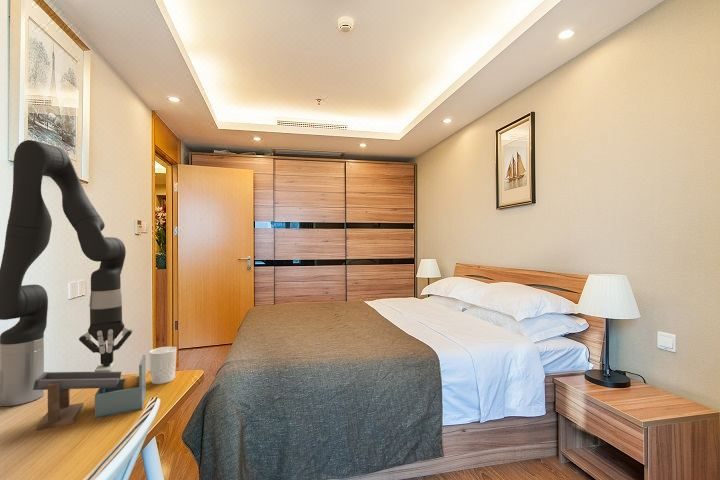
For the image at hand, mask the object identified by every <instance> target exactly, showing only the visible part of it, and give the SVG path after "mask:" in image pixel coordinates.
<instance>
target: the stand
mask: <svg viewBox="0 0 720 480" xmlns="http://www.w3.org/2000/svg"><path fill="white" fill-rule="evenodd" d="M70 390H71V389H60V383H54V384H49V385H48V390H47V412H46V414H44V416H42V418H41V419H40V421H38V423H37V424H36V431H40V430H44V429H45V430H46V429H51V428H56V427H60V426H65V425H70V424H74V422H76V420H77V418H78V417H79V415H80V413H81V412H82V410H83V409H84V407H85V402H78V403H72V404H71V403H70V400H71V399H70V397H71V395H70Z"/></svg>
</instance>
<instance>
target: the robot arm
mask: <svg viewBox="0 0 720 480" xmlns="http://www.w3.org/2000/svg"><path fill="white" fill-rule="evenodd" d="M12 165H13V167H12V169H13V170H12V171H13V172H12V175H13V176H12V193H11V194H12V195H11V199H10V200H11V202H10V209H9V210H10V211H9V216H8V220H7V225H6V232H5V240H4V247H3V253H2V259H1V263H0V320H1V321H7V320H15V319H19V320H18V322H17V323H15V325H13V326H11V327H10V328H8V329H7V330H5V331H2V332H1V334H0V407H10V406H13V407H14V406H18V405H22V404H27V403H30V402H33V401H36V400H38V399H40V398H42V397H43V396H44V394H45V390H33V387H34V382H35V380H36V379H37V378H39V377H40V376H41V375H42V374H43V373H44V372H45V356H44V355H45V348H44V347H45V340H44V339H45V331H46V328H47V325H48V324H47V323H48V310H49V309H48V308H49V297H48V294H47V290H46V289H45V288H44V287H43V286H42V285H39V284H25V285H22V284H23V280H24V279H25V278H24V277H25V275H26V273H27V271H28V269H29V268H30V267H31V265H32V264H33V263H34V262H35V261H36V260H37V259H38V258H39V257H40V256H41V254H42V253H43V252H44V251H45V250H46V248H47V247H48V245H49V243H50V239H51V232H52V228H53V227H52V225H53V220H52V216H51V213H50V211H49V209H48V207H47V205H46V203H45V201H44V199H43V196H42V184H43V183H42V182H43V177H44V176H45V177H49V178H51V180H53V181H54V183H55V184H56V185H57V187H58V188H59V190H60V192H61V198H62V199H61V200H62V201H61V202H62V203H61V204H62V207H61V208H62V211H63V213H64V216H65V217H66V218H67V220H68V222H69V223H70V225H71V226H72V228H73V229H74V231H75V232H76V235H77V239H78V242H79V245H80V249H81V251H82V253H83V254H84V255H85V256H86V258H88V259H89V260H91V261H93V262H99V263H100V264H99V268H98V269H96V270H94V271H92V273H91V274H90V296H89V304H88V307H89V327H88V329H87V332H86V333H84V334H82V335H81V336H80V337H79V338H78V341H80V343H82V344H83V345H84V346H85V347H86V348H87V349H88V350H89V351H90V352H92V353H94V354H95V353H97V354H99V355H100V363H101V365H103V366H110V365H111V363H114V352H115V351H117V350H119V349H121V347H122V346H123V344H124V343H125V342H126V341H127V340H128V339H129V337H131V335H132V333H133V330H132V329H128V328H126V327H125V324H124V323H123V299H122V298H123V297H122V291H121V290H122V289H121V286H122V285H121V284H122V283H121V274H122V271H123V269H124V268H123V267H124V265H125V259H126V253H127V251H126V246H125V243H124V241H122V239H120V238H118V237H113V236H111V237H109V236H108V237H107V236H104V234H103V233H102V231H103V230H104V228H105V226H106V225H105V222H104V220H103V218H102V217H101V215H100V214H99V212H98V211H97V209H96V208H95V206H94V205H93V204H92V202H91V201H90V199H89V197H88V195H87V194H86V192H85V189H84V187H83V185H82V183H81V180H80V178H79V176H78V174H77V172H76V170H75V169H76V168H75V166H74V164H73V162H72V159H71V158H70V156H69V155H68V153H67V152H66V151H65V150H64V149H62V148H60V147H58V146H55V145H51V144H48V143H45V142H44V143H43V142H41V141H36V140H32V139H27V140H23V141H22V142H20V143H19V144H18V145H17V147H16V148H15V151H14V155H13V163H12ZM120 333H121V336H122V338H120V339H119V341H118V342H117V343H116V344H115V339H117V338H118V336H119V335H120ZM92 338H93V339H94V340H95V341H97V342H98V345H97V344H96V343H95V342H94V341H93V340H92Z"/></svg>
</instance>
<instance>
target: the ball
mask: <svg viewBox="0 0 720 480" xmlns="http://www.w3.org/2000/svg"><path fill="white" fill-rule="evenodd" d="M136 376H137V375H136ZM136 376H135V375H134V376H133V375H132V376H128V377H126V378H127V379H126V380H125V381H124V383H123V388H124V389H130V388H136V387H139V378H138V377H136Z"/></svg>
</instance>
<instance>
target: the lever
mask: <svg viewBox="0 0 720 480" xmlns="http://www.w3.org/2000/svg"><path fill="white" fill-rule="evenodd" d="M115 365H116V362H112V363H111V365H110V366H103V365H101V362H99V364H98V365H97V367H96V368H95V369H94V371H62V372H61V371H44V373H43V374H42V375H41V376H40V377H39V378H37V379H36V380H35V382H34V387H33V390H44V391H48V385H49V384H54V383H60V389H70V390H81V389H99V388H116V387H117V385H118V383H119V381H120V379H121V377H122V371H113V369H114V368H115Z"/></svg>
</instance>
